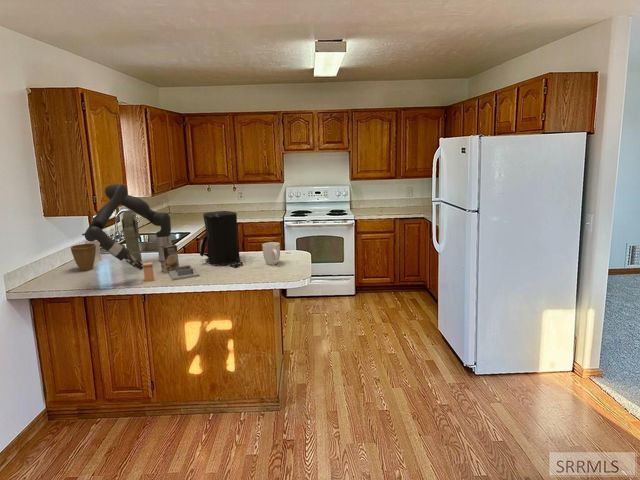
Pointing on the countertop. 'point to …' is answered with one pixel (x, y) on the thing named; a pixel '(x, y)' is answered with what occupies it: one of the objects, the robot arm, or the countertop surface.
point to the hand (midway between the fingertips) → (141, 267)
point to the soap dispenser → (97, 253)
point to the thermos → (131, 234)
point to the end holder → (183, 272)
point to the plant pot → (84, 256)
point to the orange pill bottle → (148, 271)
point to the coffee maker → (221, 239)
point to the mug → (271, 252)
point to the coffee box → (169, 258)
